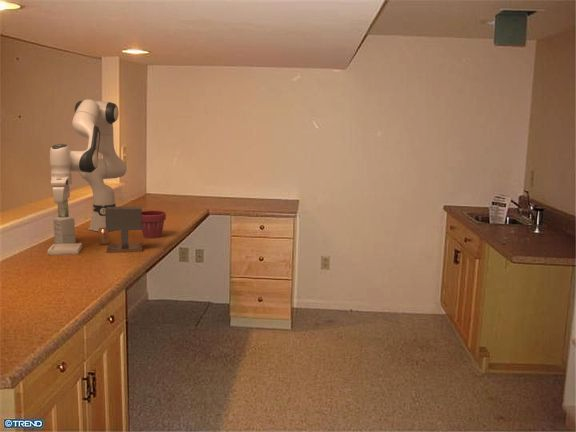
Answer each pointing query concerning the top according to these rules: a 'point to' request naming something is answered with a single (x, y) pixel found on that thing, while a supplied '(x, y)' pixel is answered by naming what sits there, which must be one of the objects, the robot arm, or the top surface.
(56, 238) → the supplement box
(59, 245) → the tray
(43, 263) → the top surface
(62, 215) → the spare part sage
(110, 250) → the mounted unit
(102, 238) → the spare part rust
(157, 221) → the plant pot
